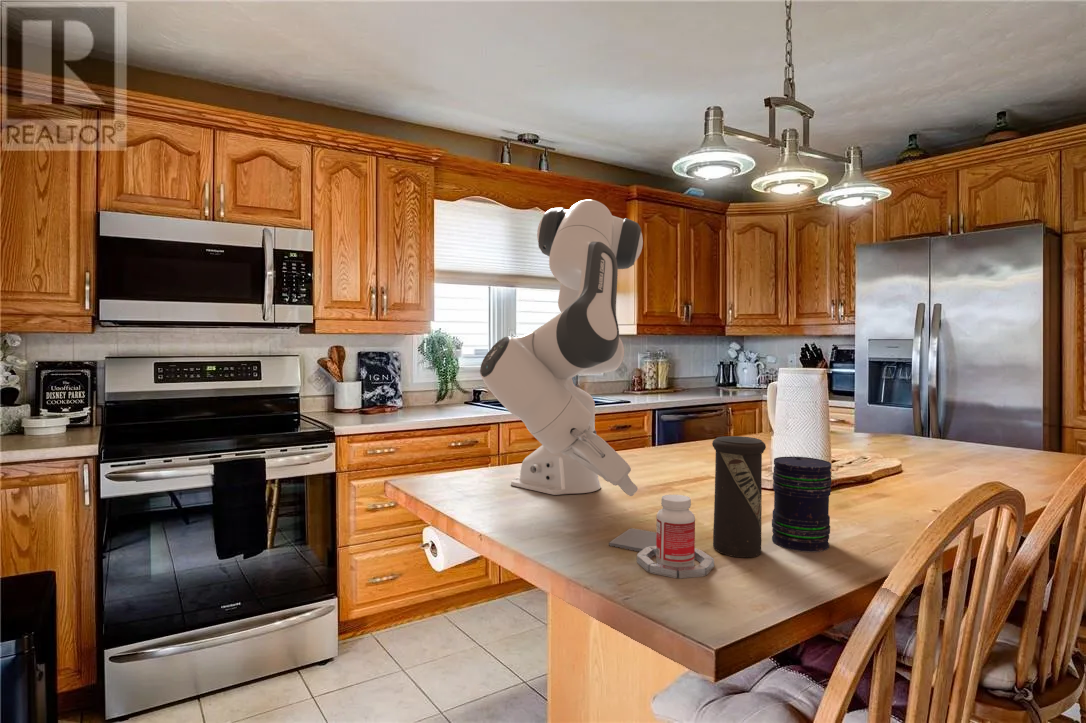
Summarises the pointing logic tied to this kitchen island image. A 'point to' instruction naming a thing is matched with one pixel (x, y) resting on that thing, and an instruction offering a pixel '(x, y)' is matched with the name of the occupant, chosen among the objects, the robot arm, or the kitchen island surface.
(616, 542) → the coaster
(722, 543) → the container
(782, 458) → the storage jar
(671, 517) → the pill bottle
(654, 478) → the kitchen island surface
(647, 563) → the collar
